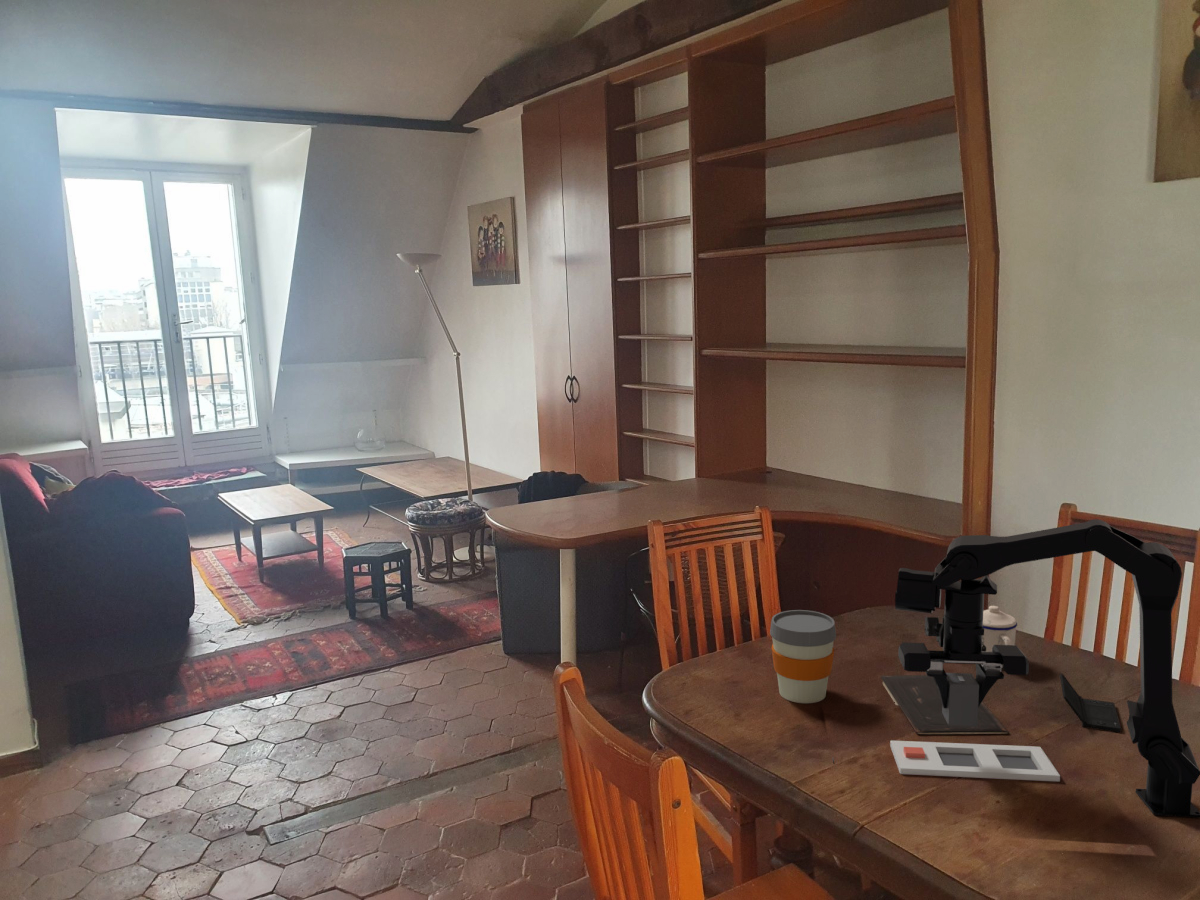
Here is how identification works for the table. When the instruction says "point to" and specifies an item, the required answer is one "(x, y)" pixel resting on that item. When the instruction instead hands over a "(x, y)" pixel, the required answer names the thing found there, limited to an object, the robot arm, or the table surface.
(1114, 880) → the table surface
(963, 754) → the power strip
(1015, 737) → the table surface
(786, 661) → the reusable coffee cup
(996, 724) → the hardcover book
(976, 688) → the block
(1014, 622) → the teacup with lid
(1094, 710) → the handheld gaming console
